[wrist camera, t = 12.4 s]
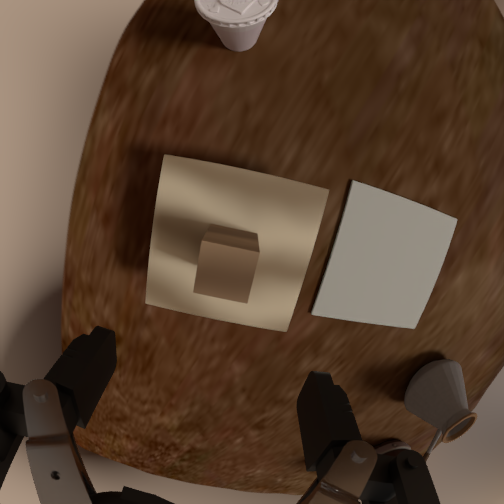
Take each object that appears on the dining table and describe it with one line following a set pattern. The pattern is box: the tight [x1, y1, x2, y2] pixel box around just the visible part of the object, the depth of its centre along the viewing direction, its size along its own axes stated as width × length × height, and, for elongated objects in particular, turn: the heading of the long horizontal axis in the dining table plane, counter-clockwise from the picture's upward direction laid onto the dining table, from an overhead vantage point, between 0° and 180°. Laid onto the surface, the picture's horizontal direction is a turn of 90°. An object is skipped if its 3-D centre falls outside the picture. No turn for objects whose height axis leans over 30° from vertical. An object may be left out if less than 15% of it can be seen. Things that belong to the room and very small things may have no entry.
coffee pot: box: [404, 359, 477, 462], centre depth 33 cm, size 21×12×15 cm, turn 161°
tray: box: [311, 180, 457, 329], centre depth 32 cm, size 16×16×1 cm
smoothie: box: [194, 0, 278, 51], centre depth 17 cm, size 6×6×14 cm
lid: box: [146, 155, 329, 332], centre depth 23 cm, size 14×14×6 cm
